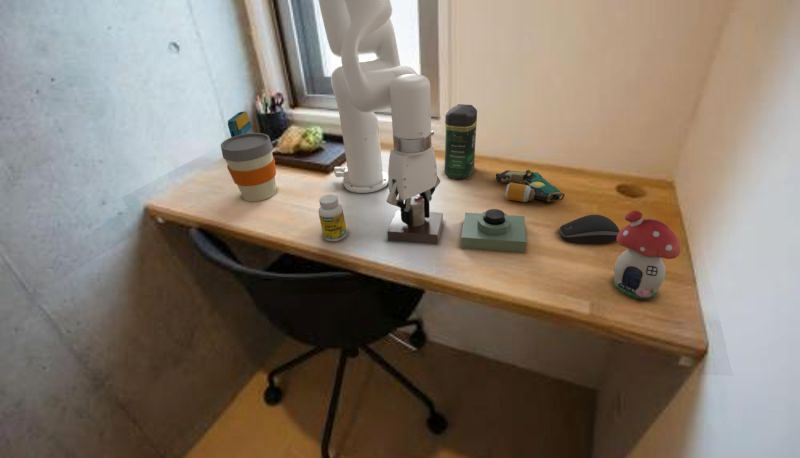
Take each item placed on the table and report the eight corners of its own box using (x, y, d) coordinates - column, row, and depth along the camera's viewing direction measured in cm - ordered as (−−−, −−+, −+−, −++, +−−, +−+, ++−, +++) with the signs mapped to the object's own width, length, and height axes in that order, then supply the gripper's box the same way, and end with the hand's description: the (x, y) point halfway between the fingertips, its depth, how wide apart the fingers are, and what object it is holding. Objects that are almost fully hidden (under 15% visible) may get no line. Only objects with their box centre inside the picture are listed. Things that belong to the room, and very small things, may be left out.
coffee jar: (469, 181, 112) (472, 114, 102) (441, 178, 115) (441, 112, 104) (477, 166, 120) (480, 102, 109) (450, 163, 122) (451, 100, 112)
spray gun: (493, 178, 114) (549, 180, 113) (500, 206, 100) (564, 207, 98) (495, 164, 112) (552, 165, 111) (502, 189, 98) (567, 191, 96)
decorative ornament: (598, 281, 76) (617, 211, 68) (619, 266, 79) (639, 198, 71) (649, 309, 70) (677, 236, 62) (669, 292, 73) (698, 220, 64)
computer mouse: (555, 227, 92) (557, 211, 89) (611, 225, 91) (616, 210, 89) (564, 245, 86) (567, 229, 84) (625, 244, 85) (630, 228, 83)
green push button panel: (460, 247, 87) (461, 230, 85) (464, 222, 95) (465, 205, 93) (524, 252, 85) (527, 234, 82) (523, 226, 93) (525, 208, 90)
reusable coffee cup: (247, 209, 106) (231, 155, 98) (228, 193, 114) (212, 142, 106) (291, 192, 113) (279, 140, 104) (270, 178, 121) (257, 129, 113)
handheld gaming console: (251, 156, 136) (239, 111, 127) (263, 156, 135) (251, 110, 127) (238, 169, 128) (224, 121, 119) (251, 169, 127) (238, 121, 119)
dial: (414, 228, 90) (413, 205, 87) (403, 221, 93) (401, 198, 89) (428, 222, 92) (427, 199, 88) (417, 215, 94) (416, 192, 91)
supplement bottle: (345, 227, 97) (340, 190, 91) (348, 239, 92) (342, 202, 87) (322, 231, 96) (315, 194, 90) (324, 244, 91) (317, 206, 86)
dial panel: (388, 240, 91) (387, 231, 90) (396, 219, 98) (396, 210, 97) (437, 244, 89) (437, 235, 87) (442, 222, 96) (442, 212, 95)
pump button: (484, 225, 87) (484, 218, 86) (485, 215, 90) (485, 208, 89) (503, 226, 86) (504, 219, 85) (504, 216, 89) (504, 209, 88)
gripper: (431, 126, 88) (432, 200, 98) (366, 148, 80) (375, 227, 90) (456, 134, 83) (454, 212, 93) (390, 159, 75) (396, 241, 85)
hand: (415, 218), depth 92 cm, fingers closed on dial, 4 cm apart
